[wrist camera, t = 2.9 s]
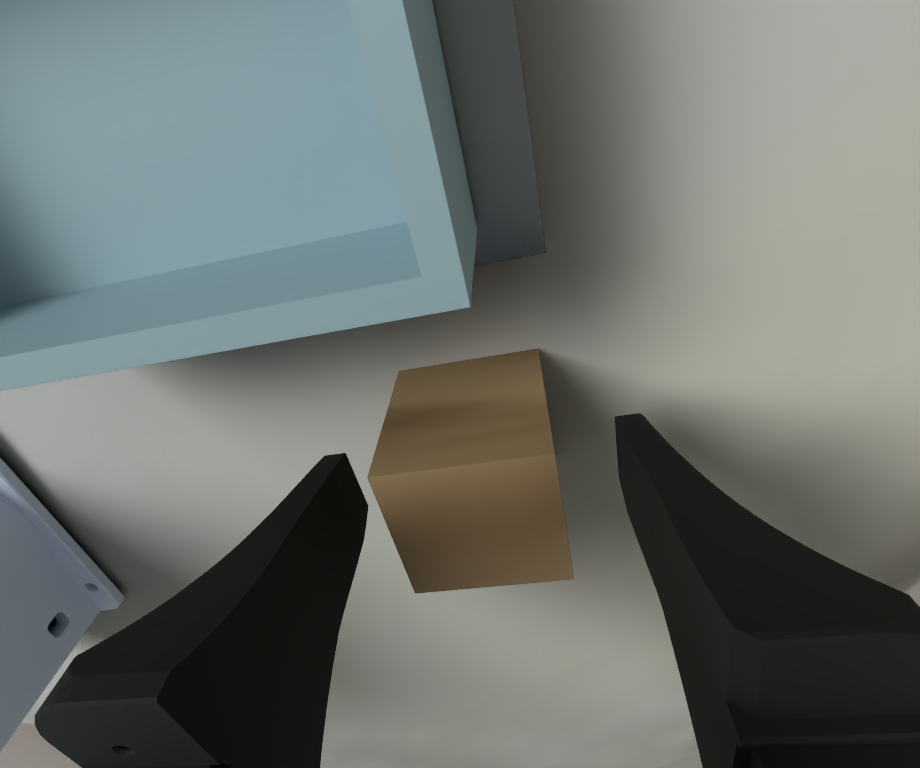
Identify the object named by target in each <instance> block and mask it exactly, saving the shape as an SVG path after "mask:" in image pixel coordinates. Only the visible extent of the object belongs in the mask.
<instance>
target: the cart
mask: <svg viewBox="0 0 920 768" xmlns="http://www.w3.org/2000/svg"><path fill="white" fill-rule="evenodd" d="M476 238H477V225H476V220H475V215H474V210H473V205H472V200H471V195H470V190H469V185H468V180H467V175H466V170H465V165H464V160H463V155H462V150H461V144H460V139H459V134H458V129H457V124H456V119H455V114H454V109H453V104H452V99H451V94H450V89H449V84H448V79H447V74H446V69H445V63H444V58H443V53H442V48H441V43H440V38H439V33H438V28H437V23H436V18H435V13H434V8H433V3H432V0H0V391H4V390H9V389H15V388H21V387H26V386H32V385H37V384H43V383H49V382H54V381H60V380H65V379H71V378H77V377H82V376H88V375H93V374H99V373H105V372H110V371H116V370H122V369H127V368H133V367H138V366H144V365H150V364H155V363H161V362H166V361H172V360H178V359H183V358H189V357H194V356H200V355H206V354H211V353H217V352H222V351H228V350H234V349H239V348H245V347H250V346H256V345H262V344H267V343H273V342H278V341H284V340H290V339H295V338H301V337H306V336H312V335H318V334H323V333H329V332H335V331H340V330H346V329H351V328H357V327H363V326H368V325H374V324H379V323H385V322H391V321H396V320H402V319H407V318H413V317H419V316H424V315H430V314H435V313H441V312H447V311H452V310H458V309H463V308H469V307H470V306H471V295H472V284H473V272H474V261H475V249H476Z"/></svg>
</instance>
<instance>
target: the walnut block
mask: <svg viewBox="0 0 920 768" xmlns="http://www.w3.org/2000/svg"><path fill="white" fill-rule="evenodd" d="M367 478H368V480H369V483H370V485H371V488H372V490H373V493H374V495H375V497H376V500H377V502H378V505H379V507H380V509H381V512H382V514H383V517H384V519H385V522H386V524H387V526H388V529H389V531H390V534H391V536H392V538H393V541H394V543H395V546H396V548H397V551H398V553H399V555H400V558H401V560H402V563H403V565H404V568H405V570H406V572H407V575H408V577H409V580H410V582H411V584H412V587H413V589H414V592H415V593H425V592H436V591H447V590H458V589H470V588H481V587H492V586H503V585H514V584H525V583H536V582H547V581H558V580H570V579H574V576H573V569H572V563H571V556H570V550H569V543H568V536H567V530H566V523H565V517H564V510H563V504H562V497H561V491H560V484H559V477H558V471H557V464H556V458H555V451H554V445H553V439H552V432H551V426H550V420H549V413H548V407H547V401H546V395H545V388H544V382H543V376H542V369H541V363H540V357H539V350H538V349H533V350H527V351H520V352H514V353H508V354H502V355H496V356H489V357H483V358H477V359H471V360H465V361H458V362H452V363H446V364H440V365H434V366H427V367H421V368H415V369H409V370H403V371H399V373H398V376H397V380H396V383H395V386H394V390H393V393H392V397H391V400H390V403H389V407H388V410H387V413H386V417H385V420H384V423H383V427H382V430H381V434H380V437H379V440H378V444H377V447H376V450H375V454H374V457H373V461H372V464H371V467H370V471H369V474H368V477H367Z"/></svg>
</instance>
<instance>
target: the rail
mask: <svg viewBox="0 0 920 768" xmlns="http://www.w3.org/2000/svg"><path fill="white" fill-rule="evenodd" d="M432 3H433V8H434V13H435V18H436V23H437V28H438V33H439V38H440V43H441V48H442V53H443V58H444V63H445V69H446V74H447V79H448V84H449V89H450V94H451V99H452V104H453V109H454V114H455V119H456V124H457V129H458V134H459V139H460V144H461V150H462V155H463V160H464V165H465V170H466V175H467V180H468V185H469V190H470V195H471V200H472V205H473V210H474V215H475V220H476V225H477V238H476V249H475V261H474V266H478V265H483V264H488V263H494V262H499V261H504V260H509V259H514V258H520V257H525V256H530V255H535V254H541V253H546V248H545V240H544V233H543V225H542V217H541V210H540V202H539V194H538V187H537V179H536V171H535V164H534V156H533V148H532V140H531V133H530V125H529V117H528V110H527V102H526V94H525V87H524V79H523V71H522V64H521V56H520V48H519V41H518V33H517V25H516V18H515V10H514V2H513V0H432Z"/></svg>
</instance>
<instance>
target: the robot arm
mask: <svg viewBox="0 0 920 768" xmlns="http://www.w3.org/2000/svg"><path fill="white" fill-rule="evenodd" d="M615 427H616V442H617V456H618V470H619V479H620V483H621V487H622V492H623V496H624V500H625V504H626V508H627V512H628V515H629V518H630V520H631V523H632V526H633V528H634V531H635V534H636V537H637V539H638V542H639V545H640V547H641V550H642V553H643V555H644V558H645V561H646V563H647V566H648V569H649V571H650V574H651V577H652V579H653V582H654V585H655V587H656V590H657V593H658V596H659V599H660V602H661V605H662V608H663V612H664V616H665V619H666V623H667V627H668V631H669V634H670V638H671V642H672V646H673V649H674V653H675V657H676V661H677V665H678V669H679V673H680V676H681V680H682V684H683V688H684V692H685V696H686V700H687V704H688V708H689V712H690V716H691V720H692V724H693V729H694V733H695V737H696V741H697V745H698V749H699V753H700V758H701V762H702V766H703V768H920V607H919V606H918V605H917V604H916V603H915V602H914V600H913V599H912V598H911V597H910V596H909V595H908V594H905V593H903V592H901V591H899V590H896V589H894V588H892V587H890V586H887V585H885V584H883V583H880V582H878V581H876V580H874V579H871V578H869V577H867V576H865V575H862V574H860V573H858V572H856V571H853V570H851V569H849V568H847V567H845V566H843V565H841V564H839V563H837V562H835V561H833V560H831V559H829V558H827V557H825V556H823V555H821V554H819V553H817V552H815V551H814V550H812V549H810V548H808V547H806V546H805V545H803V544H801V543H799V542H798V541H796V540H794V539H793V538H791V537H789V536H787V535H786V534H784V533H782V532H781V531H779V530H777V529H776V528H774V527H772V526H770V525H769V524H767V523H766V522H764V521H763V520H761V519H760V518H758V517H757V516H755V515H754V514H752V513H751V512H749V511H748V510H747V509H745V508H744V507H742V506H741V505H740V504H738V503H737V502H735V501H734V500H733V499H731V498H730V497H729V496H727V495H726V494H725V493H724V492H722V491H721V490H720V489H719V488H717V487H716V486H715V485H714V484H713V483H711V482H710V481H709V480H708V479H707V478H705V477H704V476H703V475H702V474H701V473H700V472H698V471H697V470H696V469H695V468H694V467H693V466H692V465H691V464H690V463H689V462H687V461H686V460H685V459H684V458H683V457H682V456H681V455H680V454H679V453H678V452H677V451H676V450H675V449H674V448H673V447H672V446H671V445H670V444H669V443H668V442H667V441H666V440H665V439H664V438H663V437H662V436H661V435H660V434H659V433H658V432H657V430H656V429H655V428H654V427H653V426H652V425H651V424H650V423H649V421H648V420H647V419H646V418H645V417H644V416H643V415H642V414H640V413H638V414H631V415H624V416H616V417H615ZM367 513H368V504H367V502H366V500H365V497H364V495H363V493H362V490H361V488H360V486H359V483H358V481H357V479H356V476H355V474H354V472H353V469H352V467H351V465H350V462H349V460H348V458H347V455H346V453H342V454H334V455H327V456H324V457H323V458H322V459H321V460H320V461H319V462H318V463H317V464H316V465H315V466H314V467H313V468H312V469H311V470H310V472H309V473H308V474H307V475H306V476H305V477H304V478H303V479H302V480H301V481H300V483H299V484H298V485H297V486H296V487H295V488H294V489H293V490H292V491H291V492H290V493H289V494H288V496H287V497H286V498H285V499H284V500H283V501H282V502H281V503H280V504H279V505H278V506H277V507H276V508H275V509H274V511H273V512H272V513H271V514H269V515H268V516H267V517H266V518H265V519H264V520H263V521H262V522H261V523H260V524H259V525H258V526H257V527H256V528H255V529H254V530H253V531H252V532H251V533H250V534H249V535H248V536H247V537H246V538H245V539H244V540H243V541H242V542H241V543H240V544H239V545H238V546H236V547H235V548H234V549H233V550H232V551H231V552H230V553H229V554H227V555H226V556H225V557H224V558H223V559H221V560H220V561H219V562H218V563H217V564H216V565H214V566H213V567H212V568H211V569H209V570H208V571H207V572H206V573H204V574H203V575H202V576H200V577H199V578H198V579H196V580H195V581H194V582H192V583H191V584H190V585H188V586H187V587H186V588H184V589H183V590H182V591H180V592H179V593H178V594H176V595H175V596H174V597H172V598H171V599H169V600H168V601H166V602H165V603H163V604H162V605H160V606H159V607H157V608H156V609H155V610H153V611H151V612H150V613H148V614H147V615H145V616H144V617H142V618H141V619H139V620H137V621H136V622H134V623H133V624H131V625H129V626H128V627H126V628H125V629H123V630H121V631H120V632H118V633H116V634H114V635H113V636H111V637H109V638H107V639H106V640H104V641H102V642H100V643H99V644H97V645H95V646H93V647H92V648H90V649H88V650H86V651H85V652H83V653H81V654H79V655H77V656H76V657H75V658H74V659H73V661H72V662H71V664H70V665H69V667H68V668H67V669H66V671H65V672H64V674H63V675H62V677H61V678H60V680H59V681H58V682H57V684H56V685H55V687H54V688H53V690H52V691H51V693H50V694H49V695H48V697H47V698H46V700H45V701H44V703H43V704H42V706H41V707H40V708H39V710H38V711H37V713H36V714H35V726H36V728H37V730H38V732H39V734H40V735H41V736H42V737H43V738H44V739H45V740H47V742H49V743H50V744H51V745H52V746H54V747H55V748H56V749H58V750H59V751H60V752H62V753H63V754H65V755H66V756H67V757H69V758H70V759H71V760H73V761H74V762H75V763H77V764H78V765H79V766H81V767H82V768H320V761H321V751H322V742H323V734H324V725H325V717H326V709H327V702H328V695H329V688H330V681H331V675H332V668H333V662H334V656H335V651H336V645H337V639H338V634H339V629H340V625H341V621H342V617H343V613H344V609H345V606H346V602H347V599H348V595H349V592H350V588H351V585H352V581H353V578H354V574H355V571H356V567H357V563H358V560H359V556H360V552H361V549H362V545H363V541H364V535H365V529H366V521H367ZM123 600H124V597H123V595H122V593H121V592H120V591H119V590H118V589H117V587H116V586H115V585H114V584H113V583H112V582H111V581H110V580H109V579H108V577H107V576H106V575H105V574H104V573H103V572H102V571H101V570H100V568H99V567H98V566H97V565H96V564H95V563H94V562H93V561H92V560H91V558H90V557H89V556H88V555H87V554H86V553H85V552H84V551H83V549H82V548H81V547H80V546H79V545H78V544H77V543H76V542H75V540H74V539H73V538H72V537H71V536H70V535H69V534H68V533H67V532H66V530H65V529H64V528H63V527H62V526H61V525H60V524H59V523H58V521H57V520H56V519H55V518H54V517H53V516H52V515H51V514H50V513H49V511H48V510H47V509H46V508H45V507H44V506H43V505H42V504H41V502H40V501H39V500H38V499H37V498H36V497H35V496H34V495H33V494H32V492H31V491H30V490H29V489H28V488H27V487H26V486H25V485H24V483H23V482H22V481H21V480H20V479H19V478H18V477H17V476H16V474H15V473H14V472H13V471H12V470H11V469H10V468H9V467H8V466H7V464H6V463H5V462H4V461H3V460H2V459H1V458H0V752H1V750H2V749H3V748H4V746H5V745H6V743H7V742H8V741H9V739H10V738H11V736H12V735H13V733H14V732H15V731H16V729H17V728H18V726H19V725H20V724H21V722H22V721H23V719H24V718H25V717H26V715H27V714H28V712H29V711H30V709H31V708H32V707H33V705H34V704H35V702H36V701H37V700H38V698H39V697H40V695H41V694H42V692H43V691H44V690H45V688H46V687H47V685H48V684H49V683H50V681H51V680H52V678H53V677H54V676H55V674H56V673H57V671H58V670H59V668H60V667H61V666H62V664H63V663H64V661H65V660H66V659H67V657H68V656H69V654H70V653H71V652H72V650H73V649H74V647H75V646H76V644H77V643H78V642H79V640H80V639H81V637H82V636H83V635H84V633H85V632H86V630H87V629H88V627H89V626H90V625H91V623H92V622H93V620H94V619H95V618H96V616H97V615H98V613H99V612H100V611H104V610H113V609H117V608H118V607H119V606H120V604H121V603H122V602H123Z"/></svg>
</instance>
